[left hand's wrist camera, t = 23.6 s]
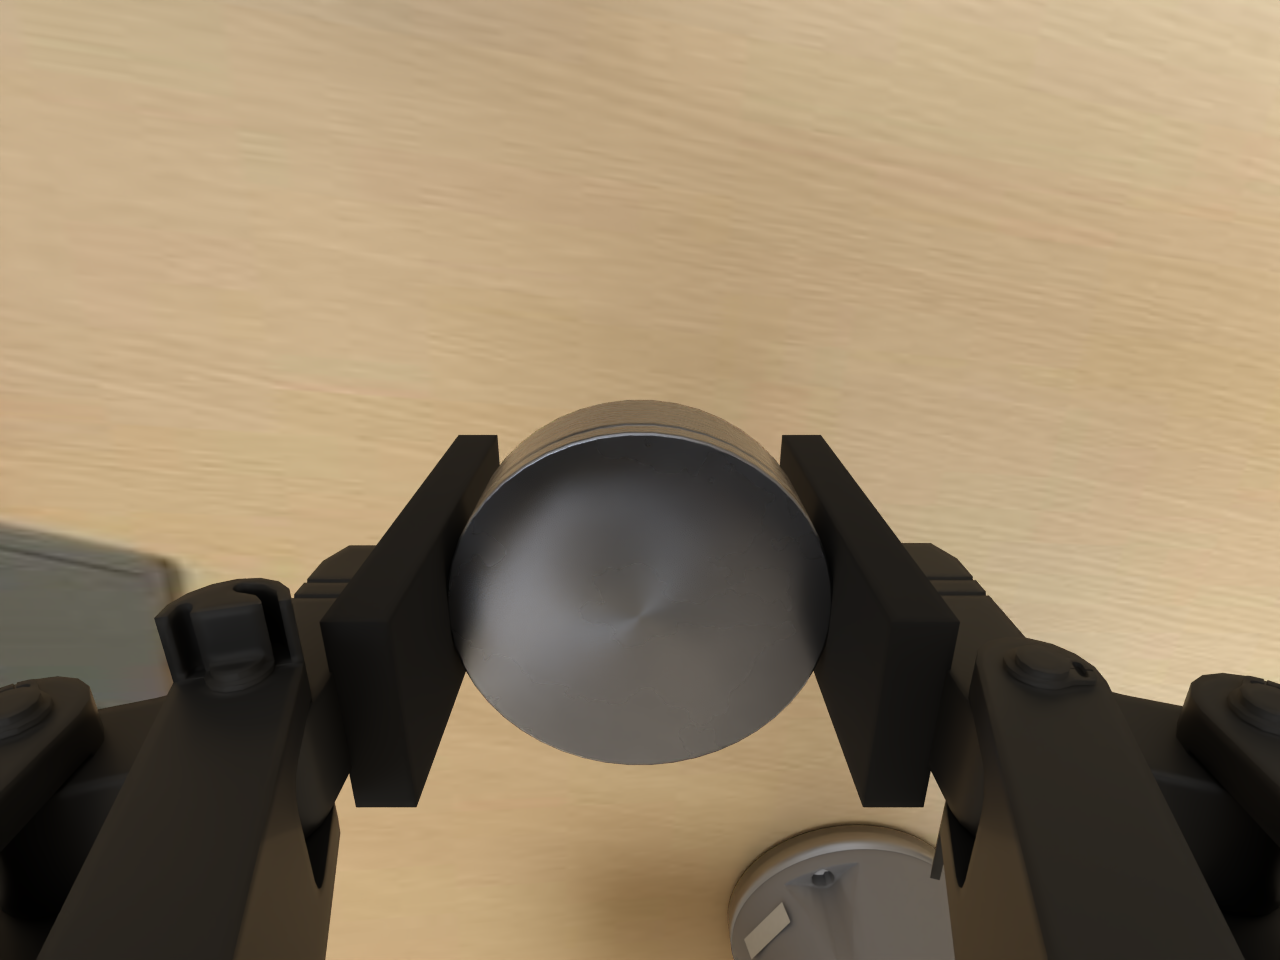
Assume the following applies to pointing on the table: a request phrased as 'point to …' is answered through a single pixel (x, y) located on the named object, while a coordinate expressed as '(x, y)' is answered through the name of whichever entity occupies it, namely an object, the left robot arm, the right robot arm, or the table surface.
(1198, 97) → the table surface
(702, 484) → the lid
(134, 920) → the left robot arm
